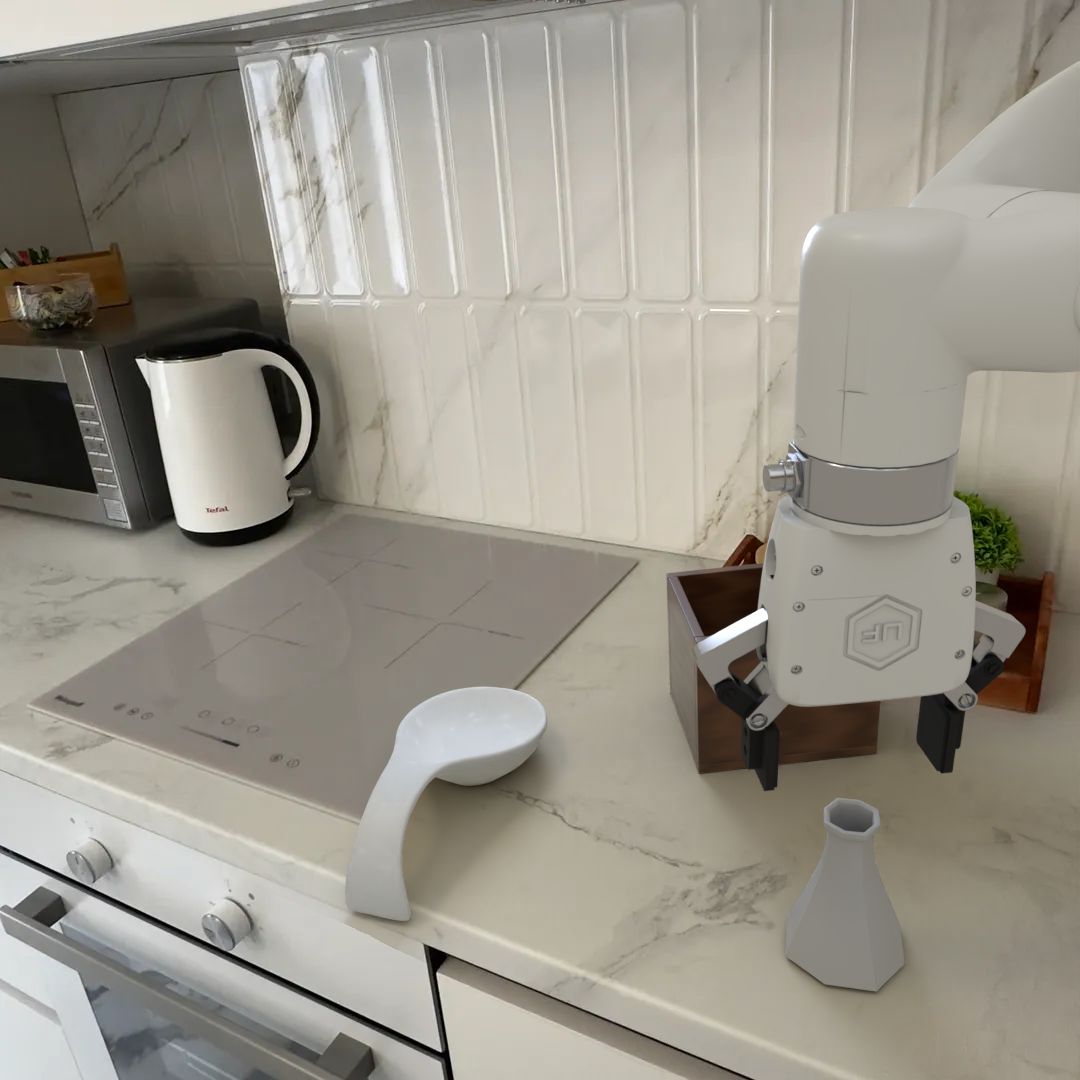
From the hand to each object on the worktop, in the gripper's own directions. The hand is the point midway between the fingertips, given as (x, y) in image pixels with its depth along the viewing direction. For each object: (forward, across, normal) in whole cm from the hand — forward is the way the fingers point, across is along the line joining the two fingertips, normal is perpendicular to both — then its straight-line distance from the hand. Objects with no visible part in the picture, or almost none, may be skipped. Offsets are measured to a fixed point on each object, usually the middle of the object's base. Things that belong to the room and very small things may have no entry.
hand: (848, 766), depth 54 cm
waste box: (+14, +3, +24) cm, 27 cm away
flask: (+14, +1, 0) cm, 14 cm away
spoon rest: (+14, -24, +17) cm, 33 cm away
